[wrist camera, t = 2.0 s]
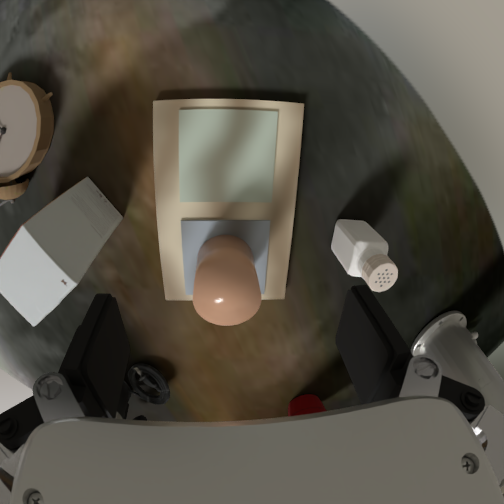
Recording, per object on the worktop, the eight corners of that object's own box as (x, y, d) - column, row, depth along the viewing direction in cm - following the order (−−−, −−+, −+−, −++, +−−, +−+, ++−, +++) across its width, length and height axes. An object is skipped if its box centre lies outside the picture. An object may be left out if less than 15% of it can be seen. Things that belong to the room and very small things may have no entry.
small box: (88, 174, 28) (22, 222, 16) (125, 217, 30) (79, 285, 19) (47, 219, 29) (-14, 279, 18) (81, 257, 32) (34, 329, 21)
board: (300, 103, 27) (304, 103, 25) (282, 293, 37) (284, 300, 36) (155, 100, 25) (152, 100, 24) (167, 294, 35) (165, 301, 34)
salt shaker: (358, 249, 35) (394, 295, 27) (328, 248, 35) (359, 296, 26) (366, 219, 33) (407, 259, 25) (335, 216, 33) (371, 258, 25)
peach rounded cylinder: (254, 234, 31) (263, 270, 25) (251, 283, 34) (259, 324, 28) (196, 234, 31) (190, 270, 25) (198, 283, 33) (194, 325, 27)
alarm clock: (60, 97, 21) (5, 231, 24) (77, 103, 26) (25, 220, 28) (-6, 65, 17) (-53, 189, 20) (14, 72, 22) (-31, 182, 25)
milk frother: (77, 386, 43) (57, 455, 30) (91, 334, 38) (60, 419, 25) (149, 414, 48) (142, 483, 35) (180, 370, 42) (174, 457, 29)
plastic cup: (344, 386, 49) (364, 441, 38) (314, 418, 53) (328, 468, 42) (291, 381, 46) (306, 444, 35) (265, 415, 50) (274, 470, 40)
